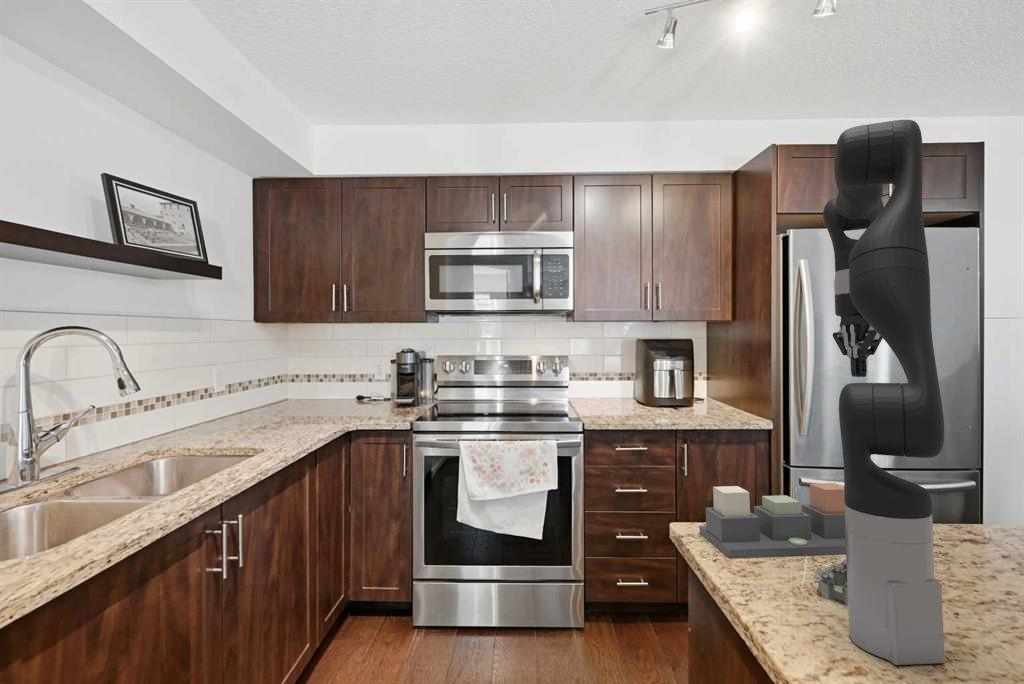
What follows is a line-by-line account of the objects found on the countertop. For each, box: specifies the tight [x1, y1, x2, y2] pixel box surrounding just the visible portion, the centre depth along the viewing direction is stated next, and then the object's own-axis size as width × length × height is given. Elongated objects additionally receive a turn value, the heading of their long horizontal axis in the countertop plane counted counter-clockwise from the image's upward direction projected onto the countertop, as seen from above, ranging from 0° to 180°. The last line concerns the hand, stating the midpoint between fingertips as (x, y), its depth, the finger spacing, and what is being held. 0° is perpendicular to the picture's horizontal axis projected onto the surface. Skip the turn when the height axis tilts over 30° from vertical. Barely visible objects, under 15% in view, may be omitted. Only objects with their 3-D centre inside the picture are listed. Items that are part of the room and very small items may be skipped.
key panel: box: [698, 503, 846, 559], centre depth 106 cm, size 14×28×6 cm, turn 92°
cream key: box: [712, 485, 751, 517], centre depth 106 cm, size 5×5×6 cm
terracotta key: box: [809, 482, 845, 514], centre depth 107 cm, size 5×5×6 cm
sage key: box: [761, 494, 802, 516], centre depth 106 cm, size 5×5×6 cm
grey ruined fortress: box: [814, 558, 848, 607], centre depth 83 cm, size 11×8×4 cm
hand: (858, 376), depth 110 cm, fingers closed
